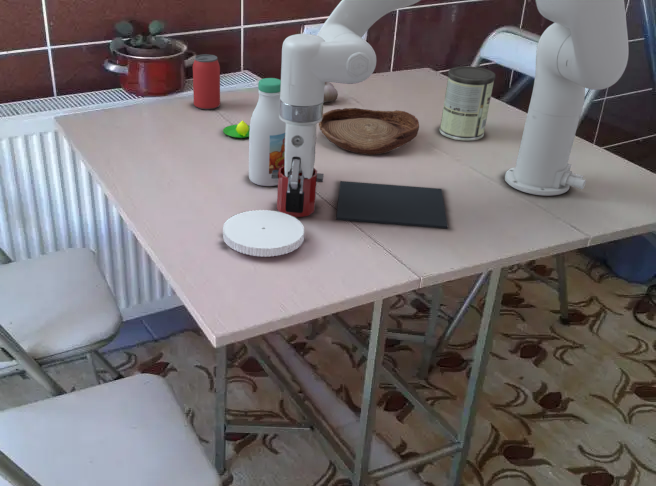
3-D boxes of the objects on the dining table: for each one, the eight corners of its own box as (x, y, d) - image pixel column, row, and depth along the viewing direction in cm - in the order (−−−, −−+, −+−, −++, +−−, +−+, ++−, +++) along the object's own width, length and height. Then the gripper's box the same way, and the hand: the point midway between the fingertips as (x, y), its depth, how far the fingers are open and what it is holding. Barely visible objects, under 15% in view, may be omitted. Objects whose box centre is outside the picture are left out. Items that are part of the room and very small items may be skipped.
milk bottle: (254, 189, 147) (256, 88, 136) (244, 173, 153) (245, 76, 142) (291, 185, 149) (296, 85, 138) (280, 169, 155) (284, 73, 144)
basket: (321, 156, 161) (323, 134, 158) (312, 123, 178) (314, 102, 175) (424, 156, 162) (428, 135, 159) (406, 123, 179) (409, 103, 176)
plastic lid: (214, 256, 125) (214, 243, 123) (232, 218, 136) (232, 206, 135) (297, 266, 123) (298, 252, 121) (308, 226, 134) (309, 214, 133)
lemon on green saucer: (262, 137, 170) (263, 125, 168) (229, 141, 167) (229, 129, 166) (250, 125, 176) (250, 113, 174) (218, 129, 173) (218, 117, 172)
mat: (441, 190, 148) (441, 188, 148) (447, 228, 135) (447, 226, 134) (340, 183, 150) (340, 180, 150) (336, 219, 137) (336, 217, 136)
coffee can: (436, 123, 179) (446, 64, 171) (480, 126, 178) (491, 67, 171) (441, 139, 171) (451, 78, 163) (487, 142, 170) (499, 80, 162)
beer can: (191, 102, 188) (189, 54, 182) (216, 100, 190) (215, 52, 183) (197, 111, 183) (196, 62, 176) (223, 109, 185) (222, 60, 178)
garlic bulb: (342, 100, 192) (344, 69, 188) (328, 108, 187) (331, 76, 182) (316, 94, 195) (318, 64, 191) (302, 102, 190) (304, 71, 186)
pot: (322, 202, 143) (324, 165, 138) (319, 219, 137) (322, 181, 133) (273, 198, 144) (274, 162, 139) (268, 214, 138) (269, 177, 134)
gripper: (319, 129, 122) (312, 225, 132) (325, 95, 136) (319, 184, 146) (273, 126, 123) (270, 222, 133) (285, 92, 137) (281, 181, 147)
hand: (296, 201), depth 139 cm, fingers closed on pot, 7 cm apart
